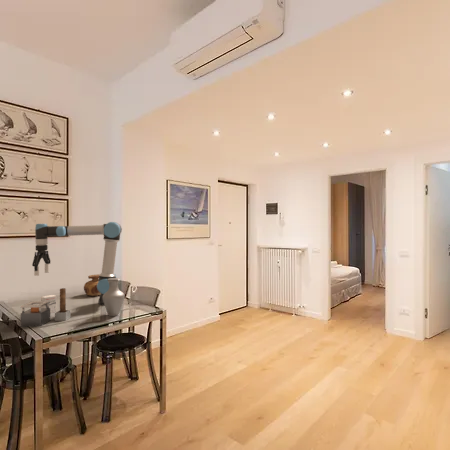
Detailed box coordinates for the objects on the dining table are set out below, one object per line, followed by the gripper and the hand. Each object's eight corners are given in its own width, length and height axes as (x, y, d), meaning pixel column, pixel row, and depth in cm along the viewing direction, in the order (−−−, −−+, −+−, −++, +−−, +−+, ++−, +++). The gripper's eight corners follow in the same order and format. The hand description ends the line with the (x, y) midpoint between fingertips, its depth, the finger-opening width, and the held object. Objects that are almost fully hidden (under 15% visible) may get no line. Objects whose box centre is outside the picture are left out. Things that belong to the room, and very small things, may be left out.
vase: (97, 316, 213) (97, 279, 213) (112, 311, 226) (112, 276, 227) (115, 318, 208) (114, 280, 208) (129, 313, 221) (128, 277, 221)
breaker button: (40, 313, 201) (40, 305, 201) (37, 315, 197) (37, 307, 197) (34, 313, 201) (34, 305, 201) (30, 315, 197) (30, 307, 197)
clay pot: (94, 295, 267) (88, 272, 271) (82, 301, 276) (76, 279, 281) (113, 291, 283) (107, 269, 287) (101, 296, 292) (95, 276, 297)
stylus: (66, 318, 210) (66, 288, 210) (64, 319, 206) (64, 289, 206) (61, 318, 209) (61, 288, 210) (58, 319, 206) (58, 289, 206)
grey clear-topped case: (50, 320, 205) (50, 301, 205) (40, 326, 193) (40, 305, 193) (31, 320, 204) (31, 301, 205) (20, 326, 193) (20, 306, 193)
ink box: (44, 314, 219) (44, 297, 219) (40, 313, 221) (40, 296, 221) (56, 311, 226) (56, 295, 226) (52, 310, 229) (52, 294, 229)
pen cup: (70, 317, 212) (70, 309, 212) (65, 320, 205) (65, 312, 205) (59, 317, 211) (59, 310, 211) (54, 320, 204) (54, 313, 204)
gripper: (45, 244, 241) (45, 271, 241) (26, 246, 216) (26, 276, 216) (55, 243, 242) (55, 271, 241) (37, 245, 217) (37, 276, 216)
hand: (41, 274), depth 229 cm, fingers open, 13 cm apart
